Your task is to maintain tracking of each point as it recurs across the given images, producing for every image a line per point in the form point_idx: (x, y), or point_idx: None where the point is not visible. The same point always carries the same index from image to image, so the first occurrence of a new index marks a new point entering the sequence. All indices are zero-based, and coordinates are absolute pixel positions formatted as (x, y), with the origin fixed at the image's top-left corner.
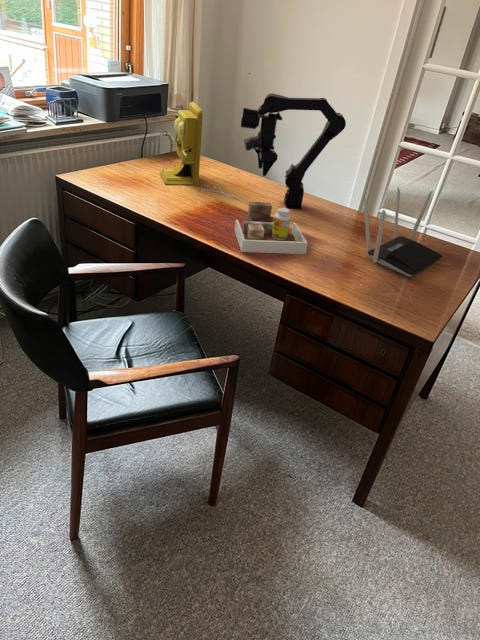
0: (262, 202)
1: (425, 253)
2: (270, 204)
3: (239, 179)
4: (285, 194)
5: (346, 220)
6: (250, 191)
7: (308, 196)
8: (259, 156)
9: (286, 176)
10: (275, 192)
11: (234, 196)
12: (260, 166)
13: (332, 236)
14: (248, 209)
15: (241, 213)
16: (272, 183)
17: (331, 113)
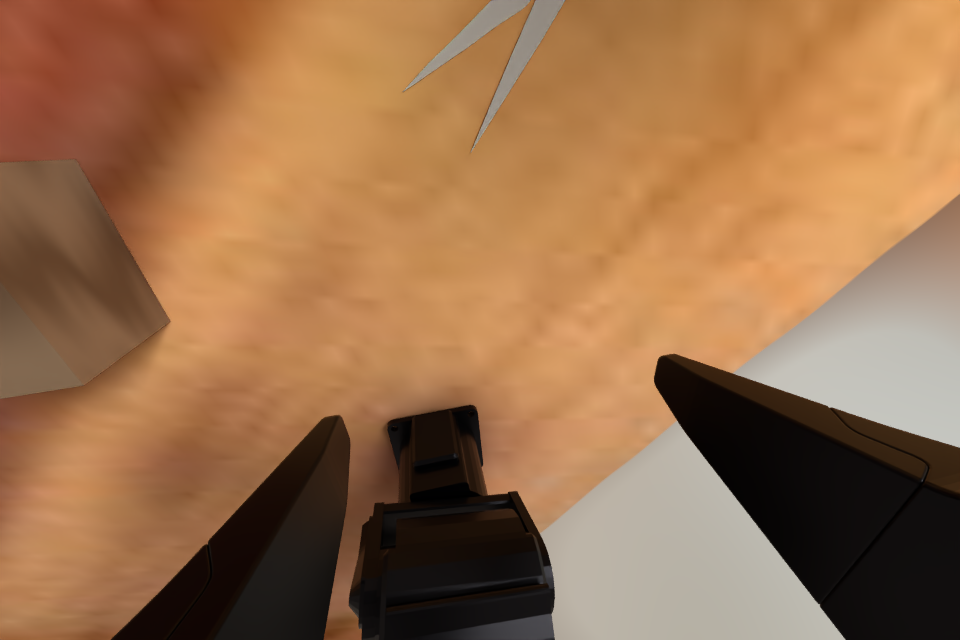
0: (22, 319)
1: None
2: (21, 388)
3: (864, 148)
4: (443, 452)
5: (337, 602)
6: (638, 218)
7: (581, 489)
8: (866, 488)
9: (387, 612)
10: (625, 364)
11: (517, 64)
12: (674, 388)
13: (88, 587)
14: (7, 162)
15: (99, 99)
16: (754, 350)
17: None
